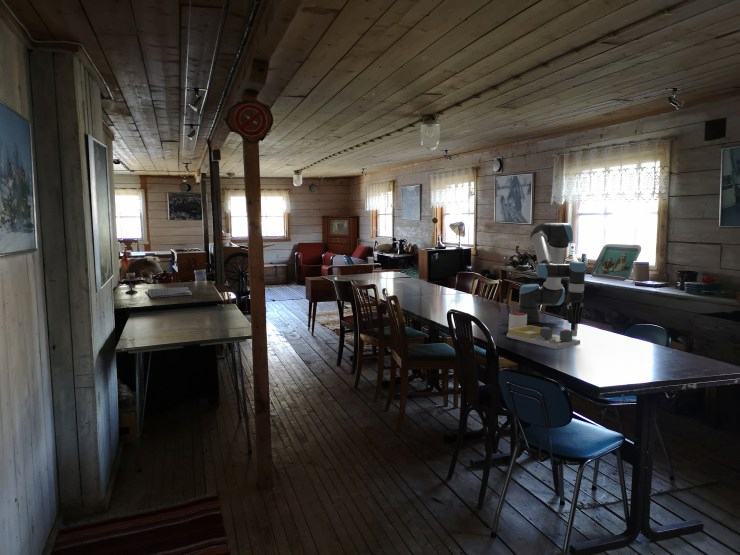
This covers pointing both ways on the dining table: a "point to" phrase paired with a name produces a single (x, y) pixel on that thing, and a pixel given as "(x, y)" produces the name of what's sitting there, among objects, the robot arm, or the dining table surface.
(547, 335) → the breaker
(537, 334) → the panel
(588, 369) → the dining table surface
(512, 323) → the cup
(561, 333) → the breaker
